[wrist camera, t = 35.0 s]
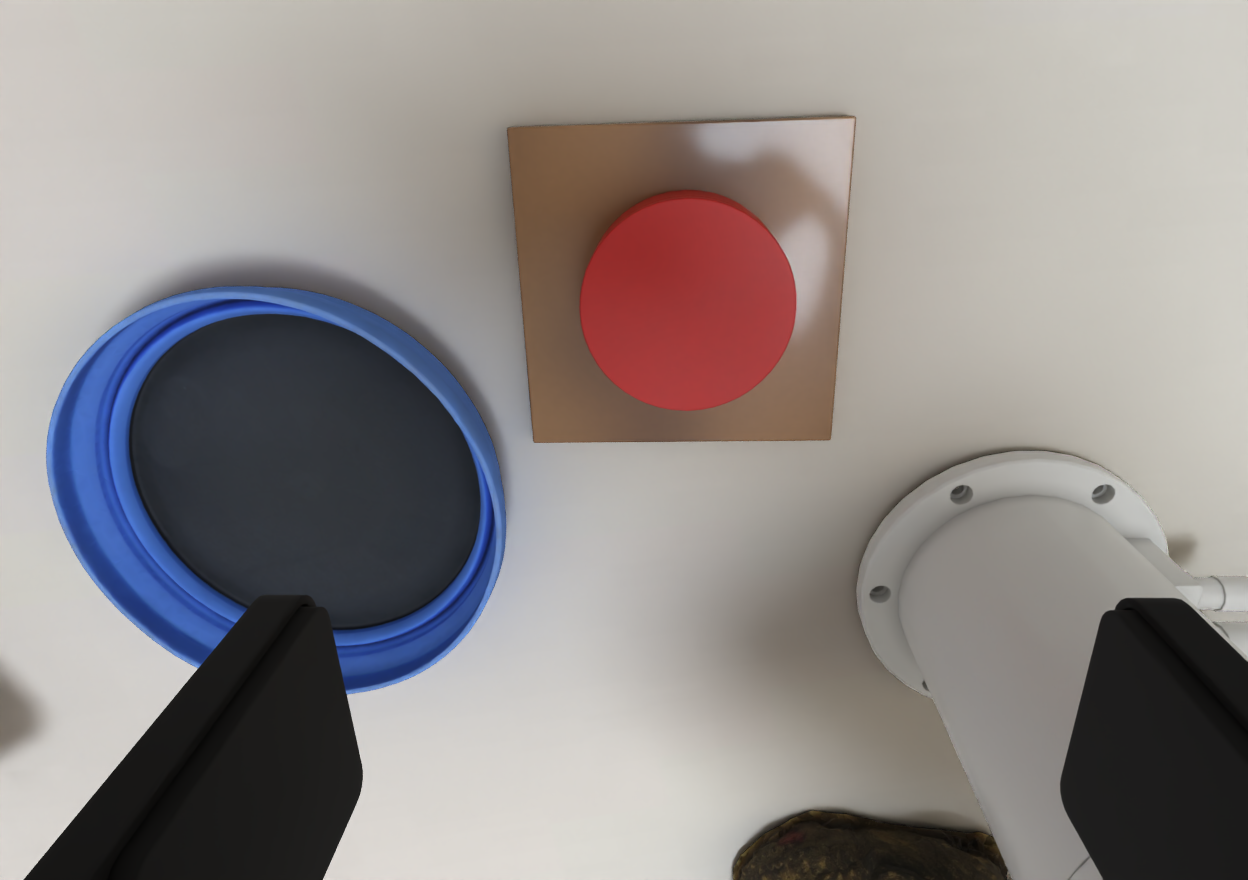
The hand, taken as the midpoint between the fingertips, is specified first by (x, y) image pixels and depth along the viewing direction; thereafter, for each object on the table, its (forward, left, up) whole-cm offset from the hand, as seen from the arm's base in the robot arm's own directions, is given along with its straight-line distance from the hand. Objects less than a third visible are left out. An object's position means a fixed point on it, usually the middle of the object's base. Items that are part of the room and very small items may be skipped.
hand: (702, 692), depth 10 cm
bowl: (+16, +8, -22) cm, 29 cm away
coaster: (0, 0, -22) cm, 22 cm away
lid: (0, 0, -20) cm, 20 cm away
